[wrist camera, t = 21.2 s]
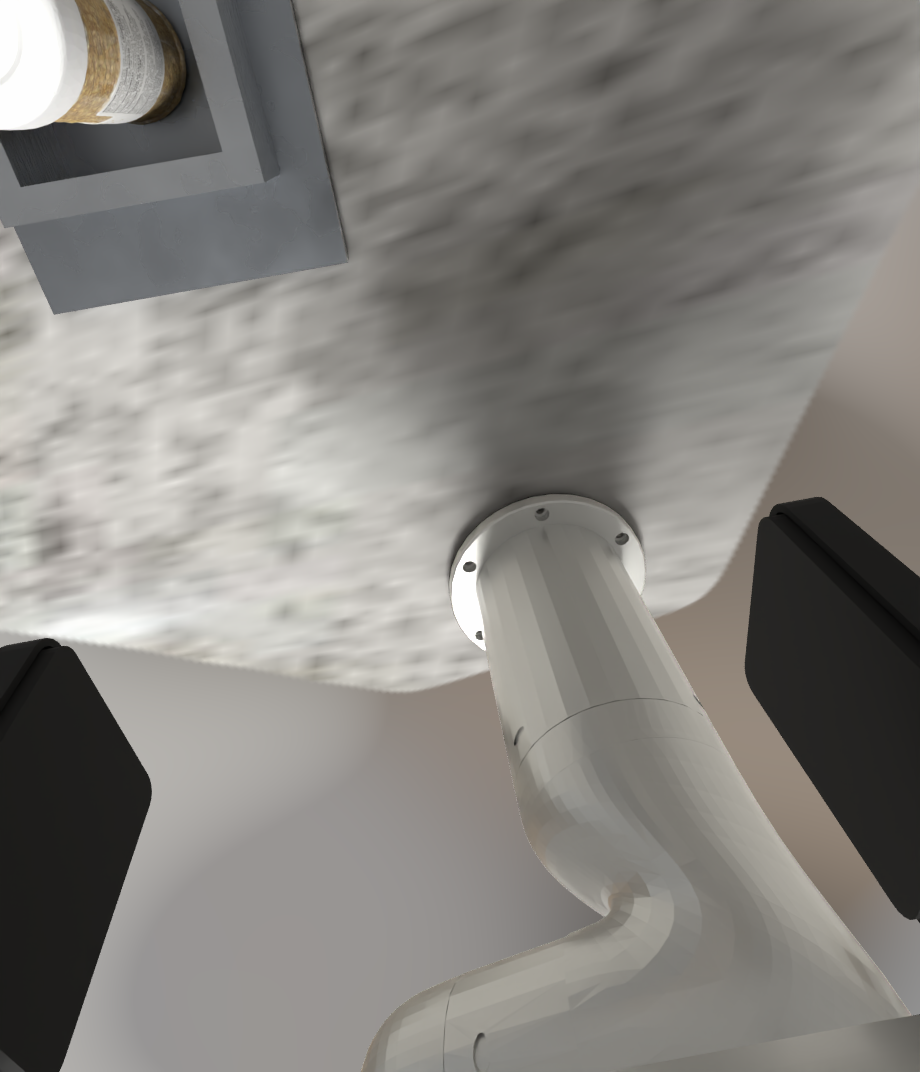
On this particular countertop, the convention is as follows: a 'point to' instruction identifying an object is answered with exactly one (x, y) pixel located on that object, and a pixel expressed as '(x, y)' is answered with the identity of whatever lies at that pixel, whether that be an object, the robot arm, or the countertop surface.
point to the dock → (183, 173)
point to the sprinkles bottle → (87, 63)
